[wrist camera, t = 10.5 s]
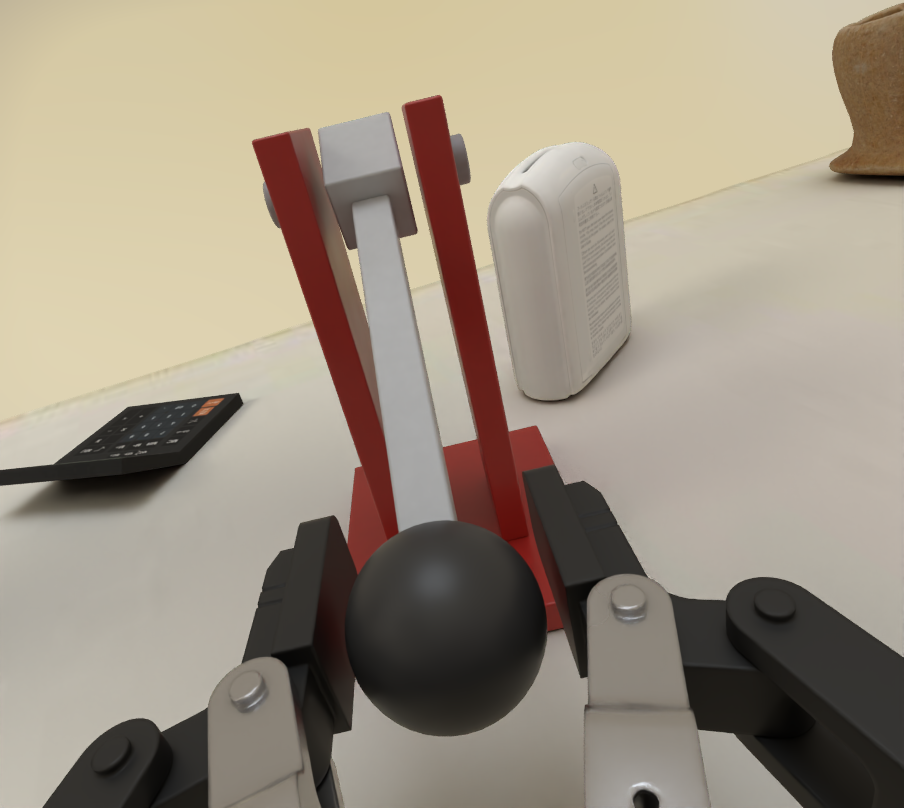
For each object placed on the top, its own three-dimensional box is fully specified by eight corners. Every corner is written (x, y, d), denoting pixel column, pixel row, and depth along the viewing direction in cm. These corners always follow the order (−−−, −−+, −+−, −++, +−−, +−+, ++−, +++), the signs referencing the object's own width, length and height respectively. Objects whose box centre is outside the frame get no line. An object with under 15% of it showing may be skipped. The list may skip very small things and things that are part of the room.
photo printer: (579, 328, 41) (555, 136, 35) (641, 330, 38) (625, 123, 33) (507, 400, 34) (462, 174, 28) (577, 408, 31) (544, 162, 26)
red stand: (617, 616, 19) (550, 66, 12) (346, 679, 19) (121, 170, 12) (540, 445, 29) (478, 86, 22) (361, 487, 29) (242, 144, 22)
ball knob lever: (570, 719, 11) (577, 697, 8) (384, 761, 11) (324, 754, 8) (429, 189, 20) (407, 84, 17) (326, 214, 20) (286, 114, 17)
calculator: (243, 403, 42) (227, 365, 40) (141, 508, 32) (115, 462, 31) (133, 417, 44) (114, 381, 43) (6, 518, 34) (-24, 476, 33)
